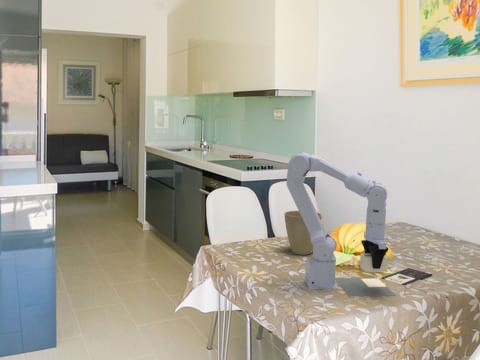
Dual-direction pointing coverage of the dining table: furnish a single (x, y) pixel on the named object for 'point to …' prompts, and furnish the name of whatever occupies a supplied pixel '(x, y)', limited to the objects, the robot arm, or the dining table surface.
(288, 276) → the dining table surface
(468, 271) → the dining table surface
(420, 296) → the dining table surface
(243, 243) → the dining table surface
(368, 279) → the mat
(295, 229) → the plant pot
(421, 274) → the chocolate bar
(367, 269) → the card deck box
